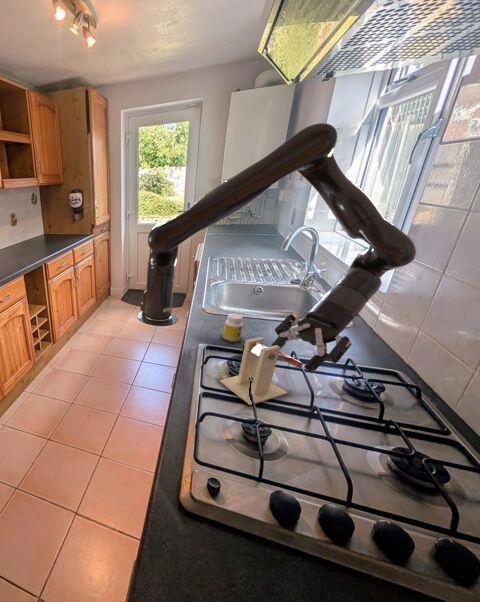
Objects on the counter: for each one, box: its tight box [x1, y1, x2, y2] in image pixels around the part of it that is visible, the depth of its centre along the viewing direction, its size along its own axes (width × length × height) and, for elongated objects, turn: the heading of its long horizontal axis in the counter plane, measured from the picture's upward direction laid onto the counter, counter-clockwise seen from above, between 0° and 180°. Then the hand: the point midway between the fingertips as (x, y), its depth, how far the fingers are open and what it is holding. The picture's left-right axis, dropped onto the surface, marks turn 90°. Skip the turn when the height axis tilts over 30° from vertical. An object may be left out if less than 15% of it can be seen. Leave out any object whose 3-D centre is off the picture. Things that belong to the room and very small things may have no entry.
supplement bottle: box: [222, 313, 244, 343], centre depth 91 cm, size 5×5×8 cm
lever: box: [251, 343, 303, 369], centre depth 69 cm, size 13×6×2 cm, turn 109°
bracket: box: [219, 336, 288, 406], centre depth 69 cm, size 11×9×13 cm
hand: (289, 359), depth 72 cm, fingers open, 8 cm apart
